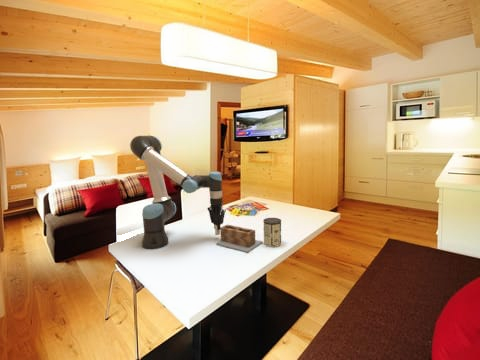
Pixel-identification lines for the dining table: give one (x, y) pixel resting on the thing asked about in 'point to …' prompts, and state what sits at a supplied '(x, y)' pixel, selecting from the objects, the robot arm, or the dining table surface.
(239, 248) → the peg board
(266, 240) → the coffee can
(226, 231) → the wooden hollow block
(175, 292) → the dining table surface
